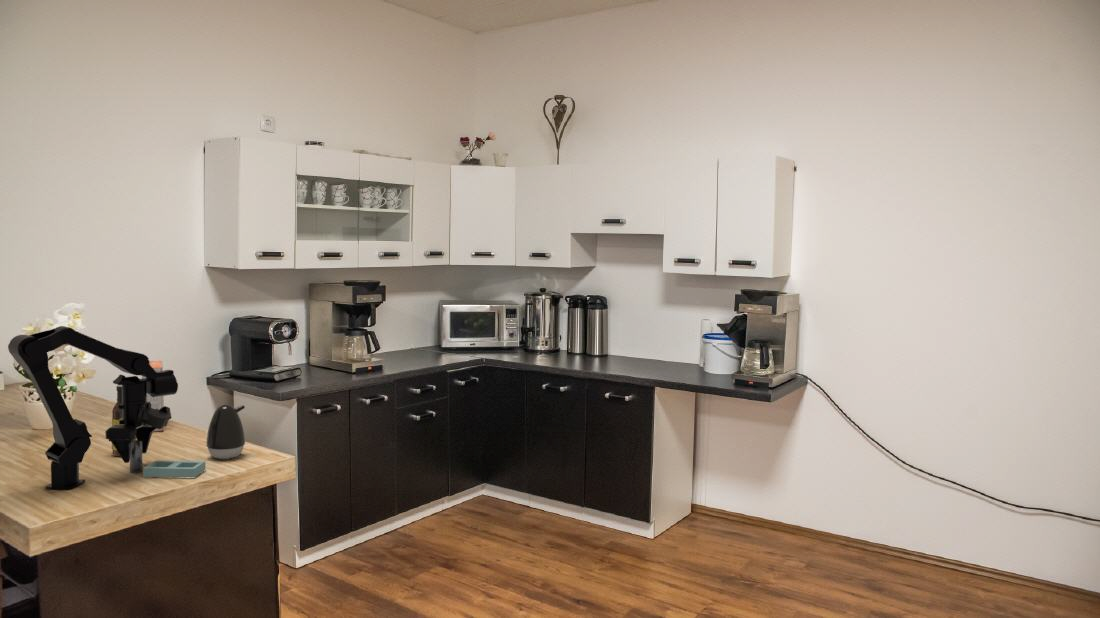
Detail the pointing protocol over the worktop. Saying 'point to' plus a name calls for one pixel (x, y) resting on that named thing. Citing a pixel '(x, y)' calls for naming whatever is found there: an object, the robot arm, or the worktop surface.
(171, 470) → the pegboard
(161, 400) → the cracker box
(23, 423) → the worktop surface
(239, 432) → the pump dispenser
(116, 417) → the sauce bottle
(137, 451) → the peg
